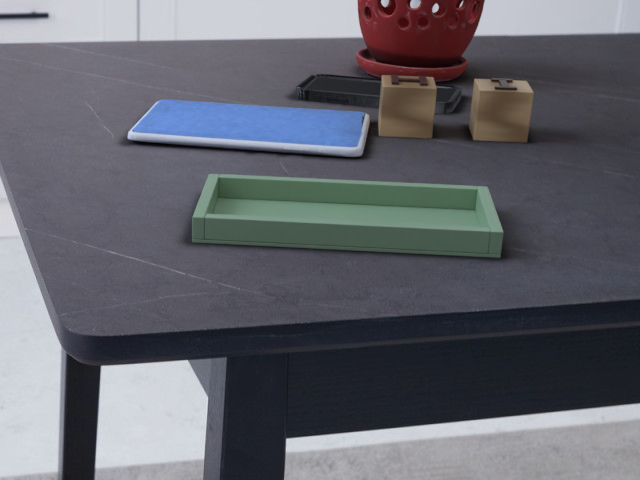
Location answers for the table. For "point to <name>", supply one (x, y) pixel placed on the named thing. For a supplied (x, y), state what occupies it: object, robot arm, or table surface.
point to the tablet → (254, 128)
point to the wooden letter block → (501, 110)
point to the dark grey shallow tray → (364, 91)
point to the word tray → (348, 215)
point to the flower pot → (417, 37)
